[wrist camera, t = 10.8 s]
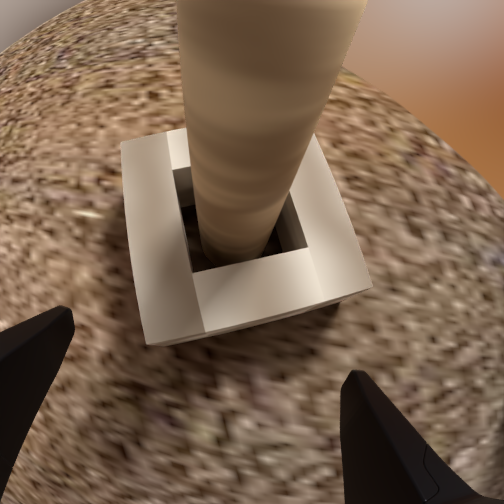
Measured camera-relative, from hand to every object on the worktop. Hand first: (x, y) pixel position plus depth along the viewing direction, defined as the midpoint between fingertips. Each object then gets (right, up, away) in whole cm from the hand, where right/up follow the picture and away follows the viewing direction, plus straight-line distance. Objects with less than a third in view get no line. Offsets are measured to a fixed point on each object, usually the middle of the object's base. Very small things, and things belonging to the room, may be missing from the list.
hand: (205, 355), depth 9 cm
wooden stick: (0, +4, +11) cm, 11 cm away
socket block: (0, +4, +11) cm, 11 cm away
